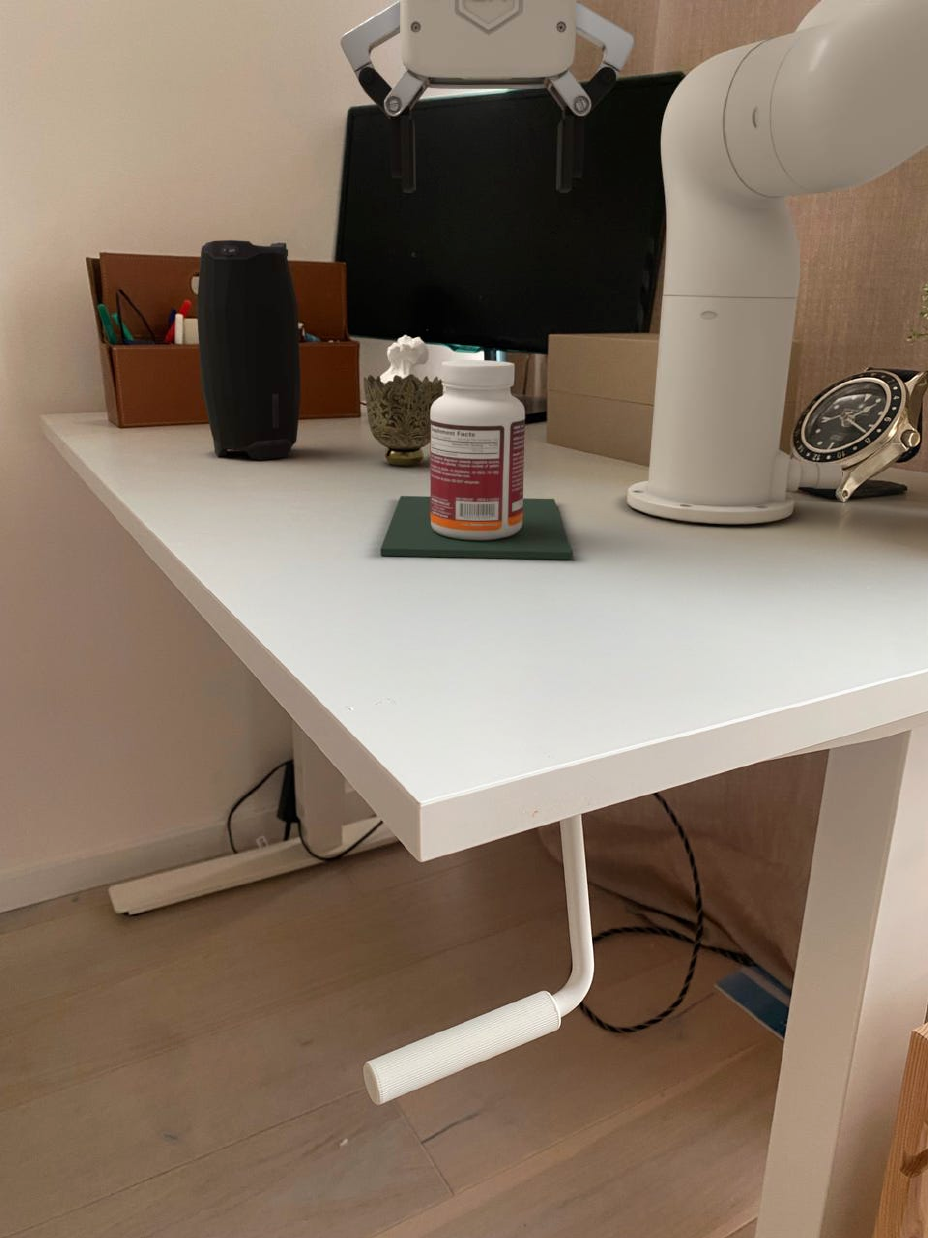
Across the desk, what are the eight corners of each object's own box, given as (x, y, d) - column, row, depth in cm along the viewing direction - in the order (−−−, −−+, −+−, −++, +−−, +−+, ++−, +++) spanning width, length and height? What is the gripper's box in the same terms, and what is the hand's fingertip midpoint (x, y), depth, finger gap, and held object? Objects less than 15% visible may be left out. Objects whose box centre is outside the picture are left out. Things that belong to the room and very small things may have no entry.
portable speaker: (203, 448, 99) (189, 241, 93) (296, 445, 102) (288, 244, 96) (210, 462, 92) (195, 238, 85) (310, 459, 94) (302, 241, 88)
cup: (425, 455, 98) (425, 372, 95) (456, 467, 91) (457, 379, 89) (353, 459, 94) (352, 374, 92) (381, 472, 88) (380, 381, 86)
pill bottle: (481, 516, 70) (484, 357, 67) (541, 533, 66) (548, 363, 62) (411, 528, 66) (410, 360, 63) (469, 547, 62) (472, 368, 58)
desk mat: (554, 505, 77) (554, 498, 76) (571, 559, 62) (571, 552, 61) (400, 502, 77) (400, 495, 77) (380, 555, 62) (380, 548, 61)
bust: (403, 447, 115) (462, 370, 114) (351, 407, 113) (410, 327, 111) (395, 432, 127) (448, 361, 125) (347, 396, 124) (401, 323, 122)
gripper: (326, -169, 52) (340, 186, 57) (654, -169, 52) (635, 185, 57) (342, -115, 59) (353, 195, 64) (631, -116, 59) (616, 195, 64)
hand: (486, 190), depth 61 cm, fingers open, 9 cm apart
